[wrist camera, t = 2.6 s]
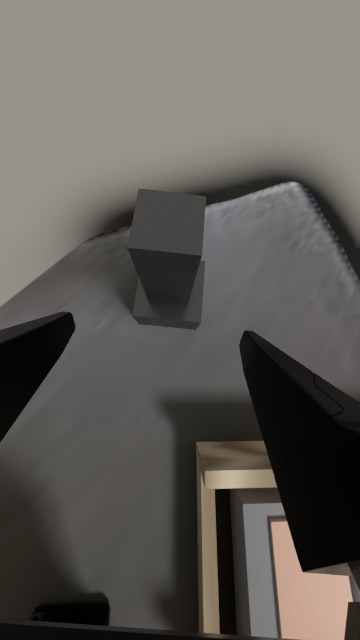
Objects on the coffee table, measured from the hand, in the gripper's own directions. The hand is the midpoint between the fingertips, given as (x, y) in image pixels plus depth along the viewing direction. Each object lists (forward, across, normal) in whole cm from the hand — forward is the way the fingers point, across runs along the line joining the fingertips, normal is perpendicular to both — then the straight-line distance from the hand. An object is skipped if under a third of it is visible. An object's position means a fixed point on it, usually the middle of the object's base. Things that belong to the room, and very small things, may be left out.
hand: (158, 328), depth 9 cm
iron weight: (+13, 0, +4) cm, 14 cm away
